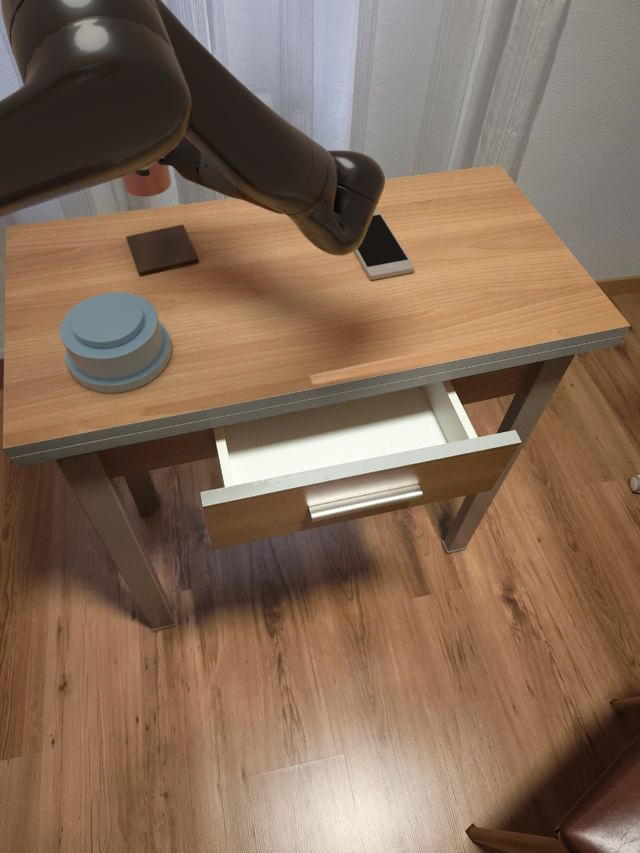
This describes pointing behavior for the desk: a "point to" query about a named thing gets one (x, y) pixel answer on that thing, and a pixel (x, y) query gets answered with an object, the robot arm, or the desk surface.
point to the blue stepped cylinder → (114, 342)
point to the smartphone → (382, 251)
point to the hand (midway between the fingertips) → (119, 118)
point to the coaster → (162, 250)
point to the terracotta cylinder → (148, 181)
